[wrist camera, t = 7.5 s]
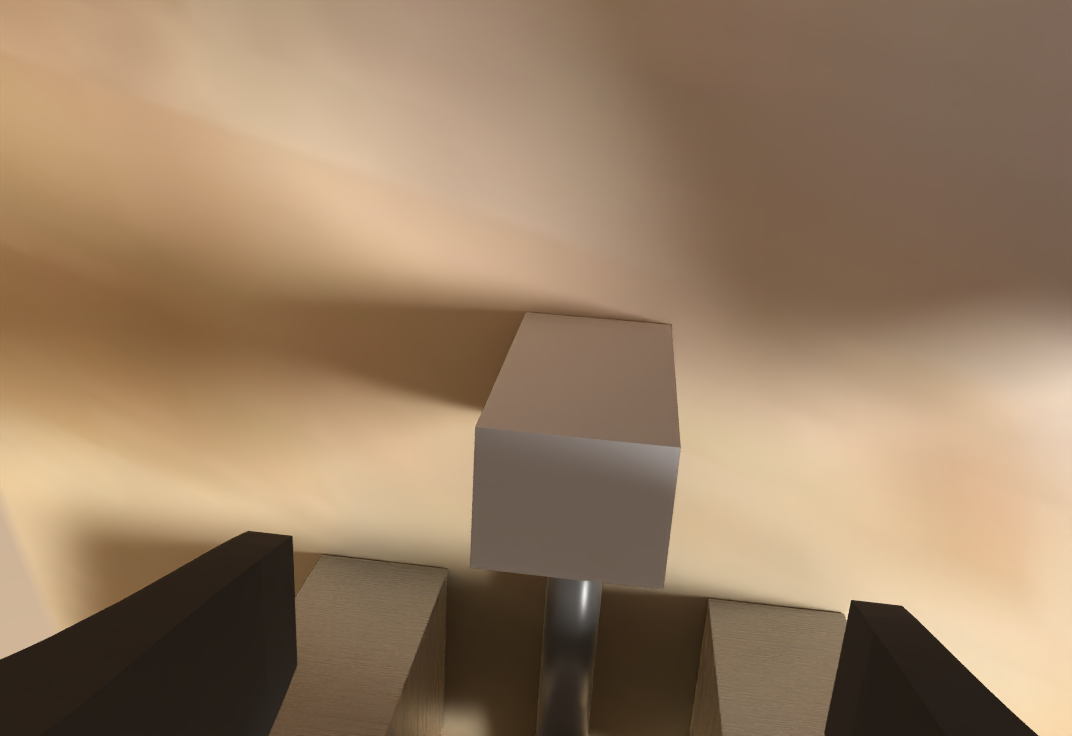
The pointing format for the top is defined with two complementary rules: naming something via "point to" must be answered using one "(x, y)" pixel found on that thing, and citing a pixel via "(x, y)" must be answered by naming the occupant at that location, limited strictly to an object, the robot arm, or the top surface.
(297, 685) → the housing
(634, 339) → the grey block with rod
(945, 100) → the top surface
